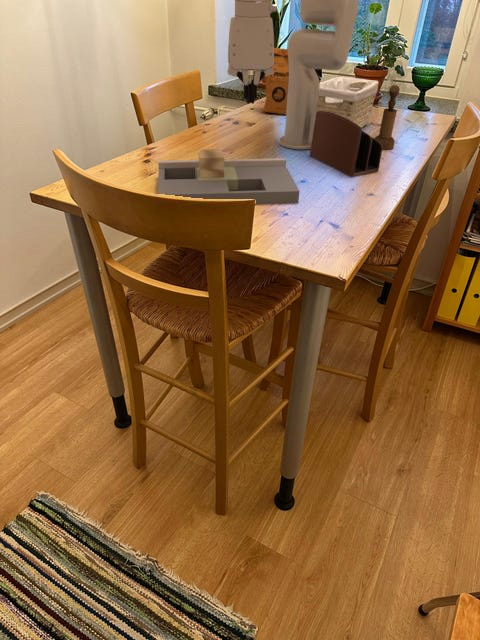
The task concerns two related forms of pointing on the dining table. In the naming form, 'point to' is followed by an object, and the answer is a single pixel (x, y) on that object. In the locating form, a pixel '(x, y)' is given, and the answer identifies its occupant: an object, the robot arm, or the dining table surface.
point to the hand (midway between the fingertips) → (249, 102)
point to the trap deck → (230, 181)
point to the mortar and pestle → (388, 121)
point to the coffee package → (278, 84)
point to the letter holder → (344, 145)
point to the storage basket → (348, 98)
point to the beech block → (211, 163)
